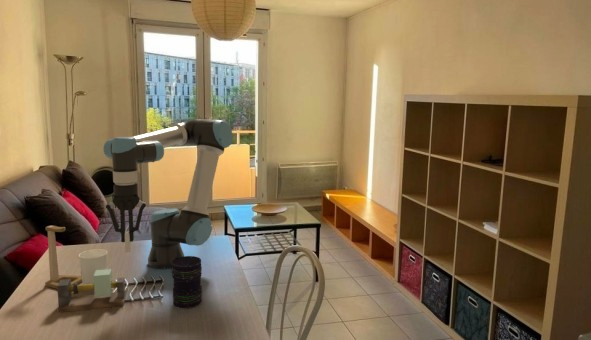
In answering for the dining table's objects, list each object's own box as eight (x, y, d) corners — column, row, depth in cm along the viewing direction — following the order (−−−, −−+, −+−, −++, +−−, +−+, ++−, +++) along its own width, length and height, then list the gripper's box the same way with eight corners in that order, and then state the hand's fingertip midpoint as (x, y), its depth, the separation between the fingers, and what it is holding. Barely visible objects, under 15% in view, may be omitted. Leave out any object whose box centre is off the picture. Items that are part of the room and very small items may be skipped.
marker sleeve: (112, 288, 148) (111, 268, 147) (110, 295, 143) (109, 274, 142) (97, 290, 146) (96, 270, 145) (94, 296, 142) (93, 275, 141)
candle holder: (80, 291, 153) (78, 259, 151) (80, 281, 162) (78, 251, 160) (109, 286, 158) (108, 255, 156) (108, 276, 166) (106, 247, 164)
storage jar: (168, 300, 148) (167, 259, 145) (194, 293, 154) (194, 254, 151) (179, 311, 140) (178, 268, 138) (206, 303, 146) (206, 262, 143)
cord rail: (125, 295, 151) (124, 272, 150) (123, 305, 143) (122, 281, 142) (63, 301, 145) (61, 278, 144) (57, 312, 138) (56, 287, 136)
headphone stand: (66, 291, 153) (62, 232, 150) (40, 287, 155) (36, 230, 152) (86, 279, 163) (83, 224, 160) (61, 276, 166) (58, 222, 162)
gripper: (146, 180, 147) (148, 245, 150) (105, 181, 143) (108, 248, 146) (145, 184, 140) (147, 252, 143) (102, 185, 136) (105, 256, 139)
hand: (127, 250), depth 145 cm, fingers closed
